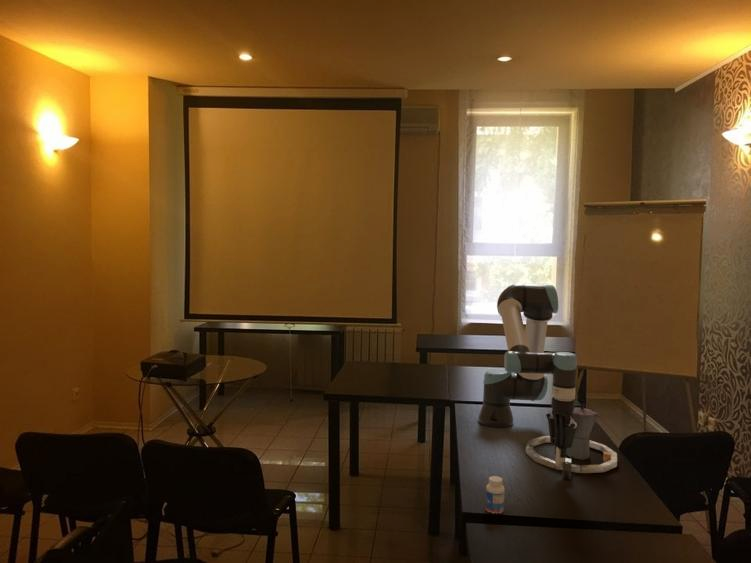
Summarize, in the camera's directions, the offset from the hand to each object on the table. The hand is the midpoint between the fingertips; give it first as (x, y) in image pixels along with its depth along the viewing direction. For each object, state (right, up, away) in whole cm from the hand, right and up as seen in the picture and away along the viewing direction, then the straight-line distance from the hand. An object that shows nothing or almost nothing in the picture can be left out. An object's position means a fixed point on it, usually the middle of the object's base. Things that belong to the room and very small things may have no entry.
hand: (559, 465), depth 203 cm
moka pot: (+12, -3, +20) cm, 24 cm away
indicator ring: (+9, -2, +15) cm, 18 cm away
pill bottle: (-28, -6, -25) cm, 38 cm away
